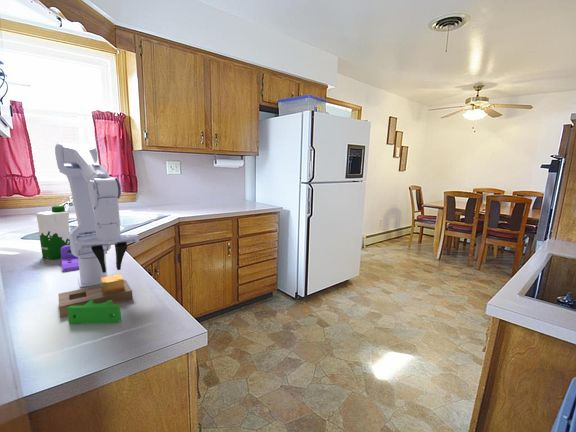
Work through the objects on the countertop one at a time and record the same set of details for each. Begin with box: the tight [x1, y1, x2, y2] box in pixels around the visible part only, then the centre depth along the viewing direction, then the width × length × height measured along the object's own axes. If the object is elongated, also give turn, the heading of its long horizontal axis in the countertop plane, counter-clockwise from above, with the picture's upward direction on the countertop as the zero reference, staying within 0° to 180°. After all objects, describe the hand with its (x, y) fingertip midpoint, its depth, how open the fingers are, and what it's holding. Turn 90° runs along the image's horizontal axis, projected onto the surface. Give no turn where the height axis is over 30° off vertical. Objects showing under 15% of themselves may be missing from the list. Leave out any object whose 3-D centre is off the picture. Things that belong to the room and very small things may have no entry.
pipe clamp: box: [67, 300, 122, 325], centre depth 69 cm, size 11×4×5 cm, turn 96°
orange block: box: [100, 273, 125, 294], centre depth 80 cm, size 5×5×6 cm
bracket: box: [60, 245, 79, 273], centre depth 105 cm, size 12×7×7 cm, turn 39°
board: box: [58, 279, 134, 318], centre depth 78 cm, size 9×16×3 cm, turn 129°
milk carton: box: [35, 205, 72, 260], centre depth 114 cm, size 9×9×20 cm
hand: (111, 270), depth 79 cm, fingers open, 3 cm apart
